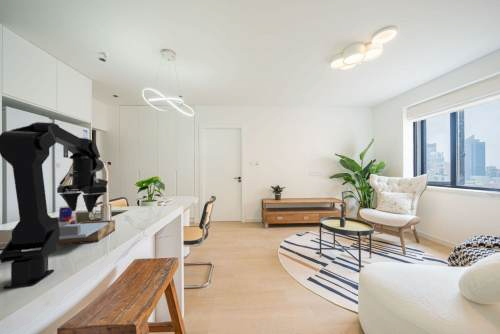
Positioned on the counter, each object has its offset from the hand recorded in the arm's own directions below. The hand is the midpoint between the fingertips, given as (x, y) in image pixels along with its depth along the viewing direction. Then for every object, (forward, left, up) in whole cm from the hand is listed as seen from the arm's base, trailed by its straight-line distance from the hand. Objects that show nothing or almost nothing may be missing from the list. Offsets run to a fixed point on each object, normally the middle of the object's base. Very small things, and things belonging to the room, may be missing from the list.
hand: (81, 211), depth 71 cm
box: (+9, +3, -13) cm, 16 cm away
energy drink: (+19, +17, -13) cm, 29 cm away
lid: (+1, +3, -8) cm, 9 cm away
